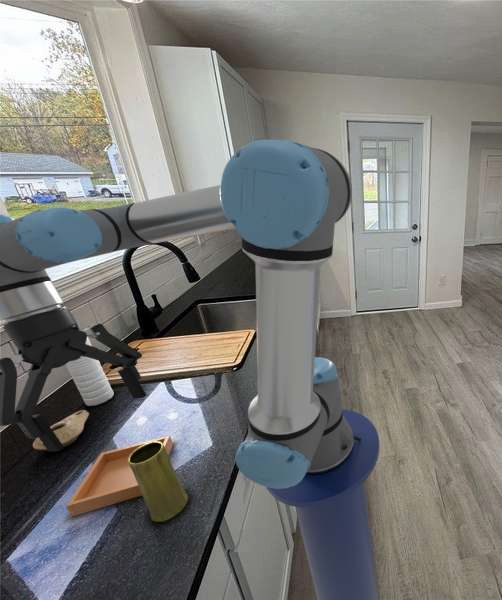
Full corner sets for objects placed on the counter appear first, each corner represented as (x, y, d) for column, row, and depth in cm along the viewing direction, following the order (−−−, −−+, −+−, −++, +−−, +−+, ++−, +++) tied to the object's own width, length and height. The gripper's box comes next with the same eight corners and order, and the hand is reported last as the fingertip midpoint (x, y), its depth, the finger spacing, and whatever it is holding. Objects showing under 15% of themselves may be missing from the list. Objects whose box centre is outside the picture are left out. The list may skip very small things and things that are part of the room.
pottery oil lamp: (106, 415, 87) (99, 402, 83) (72, 460, 78) (63, 448, 74) (68, 411, 85) (60, 397, 81) (30, 456, 76) (17, 443, 72)
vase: (195, 494, 64) (174, 441, 59) (169, 525, 58) (143, 469, 53) (171, 490, 65) (147, 437, 60) (142, 519, 59) (114, 464, 54)
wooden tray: (173, 444, 77) (169, 435, 76) (154, 491, 65) (149, 481, 64) (105, 462, 73) (100, 452, 72) (71, 516, 61) (65, 506, 60)
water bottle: (119, 391, 98) (86, 319, 89) (103, 405, 92) (66, 329, 83) (89, 394, 97) (53, 322, 88) (71, 408, 91) (31, 332, 82)
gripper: (104, 293, 63) (154, 382, 69) (-107, 354, 41) (-6, 479, 46) (129, 286, 61) (178, 379, 67) (-81, 347, 38) (22, 479, 44)
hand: (103, 420), depth 57 cm, fingers open, 13 cm apart
